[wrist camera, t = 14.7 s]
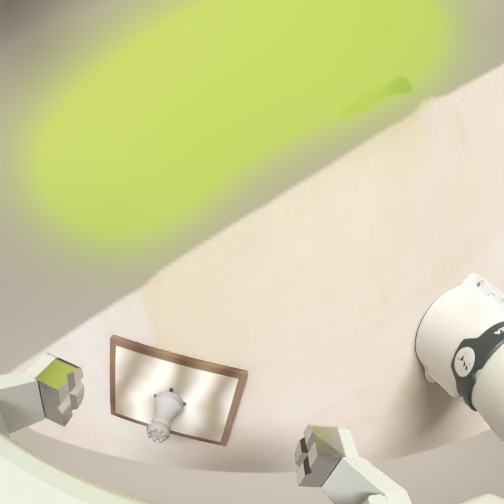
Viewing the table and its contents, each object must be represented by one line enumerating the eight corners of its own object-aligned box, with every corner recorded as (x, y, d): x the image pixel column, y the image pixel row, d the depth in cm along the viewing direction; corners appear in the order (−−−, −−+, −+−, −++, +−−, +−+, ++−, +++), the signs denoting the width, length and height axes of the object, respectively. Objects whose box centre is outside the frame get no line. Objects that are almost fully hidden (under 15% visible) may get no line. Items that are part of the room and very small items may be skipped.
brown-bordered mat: (247, 370, 42) (247, 375, 40) (225, 441, 45) (225, 447, 44) (113, 334, 41) (109, 338, 40) (113, 410, 44) (110, 414, 43)
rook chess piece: (152, 389, 41) (136, 423, 34) (180, 389, 41) (167, 425, 33) (160, 411, 42) (146, 445, 34) (187, 411, 42) (176, 447, 34)
